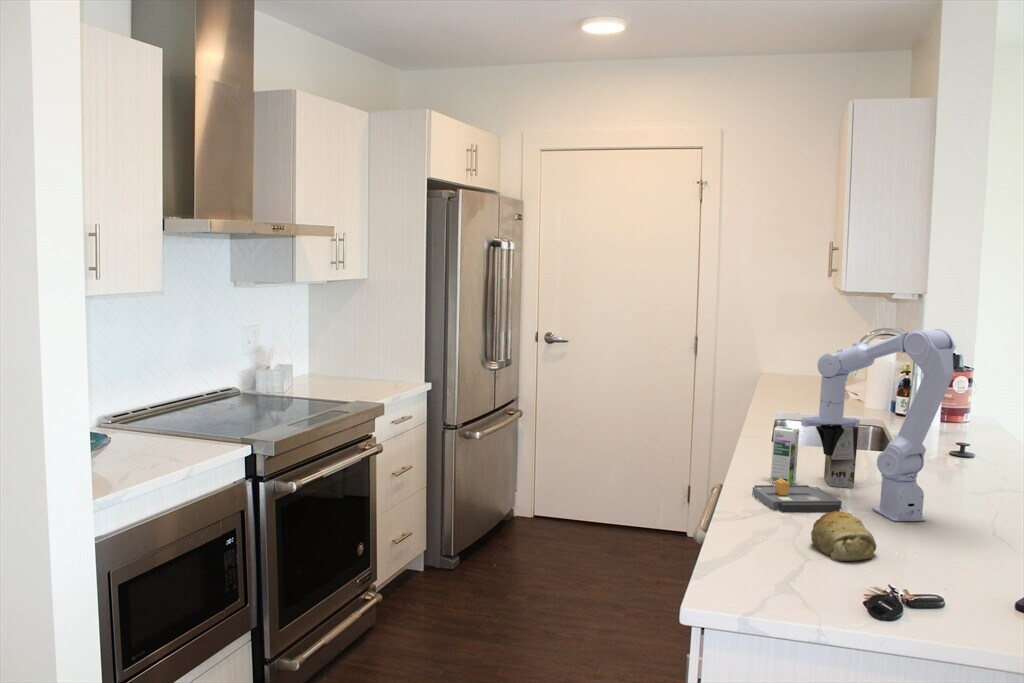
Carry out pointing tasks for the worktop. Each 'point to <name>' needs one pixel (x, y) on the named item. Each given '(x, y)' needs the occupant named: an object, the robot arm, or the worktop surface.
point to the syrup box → (784, 454)
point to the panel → (793, 496)
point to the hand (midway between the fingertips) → (828, 454)
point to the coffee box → (842, 460)
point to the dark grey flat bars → (805, 504)
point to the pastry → (842, 537)
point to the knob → (781, 487)
